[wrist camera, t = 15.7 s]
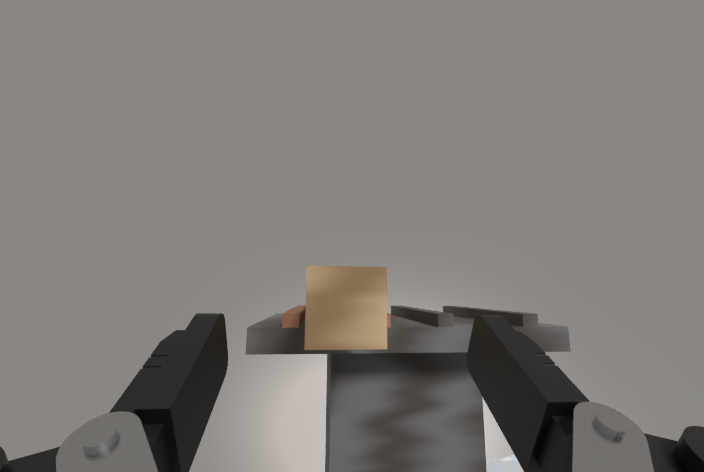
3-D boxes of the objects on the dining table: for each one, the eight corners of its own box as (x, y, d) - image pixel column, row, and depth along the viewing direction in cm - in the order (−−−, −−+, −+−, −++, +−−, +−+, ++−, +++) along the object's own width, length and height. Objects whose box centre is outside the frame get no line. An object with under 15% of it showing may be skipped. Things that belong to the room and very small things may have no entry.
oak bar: (344, 313, 34) (345, 283, 34) (387, 349, 12) (386, 267, 13) (314, 313, 34) (315, 283, 34) (304, 349, 12) (306, 265, 12)
